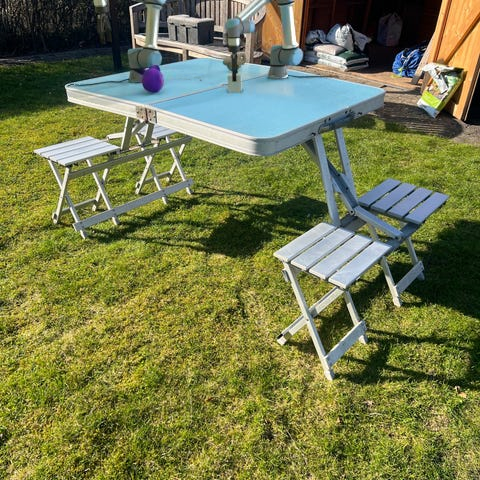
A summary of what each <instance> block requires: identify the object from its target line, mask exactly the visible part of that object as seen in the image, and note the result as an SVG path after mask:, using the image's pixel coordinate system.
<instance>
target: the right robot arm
mask: <svg viewBox="0 0 480 480" xmlns="http://www.w3.org/2000/svg"><path fill="white" fill-rule="evenodd" d="M275 1H276V2H277V7H279V10H280V11H279V12H280V19H281V28H282V29H281V30H282V37H283V38H282V39H283V44H275V45H271V47H270V51H269V54H270V55H269V57H270V58H269V66H270V67H269V70H268V72H267V79H269V80H285V79H288V78H289V77H292V78H298V79H299V78H338V79H339V78H340V76H339V75H305V76H304V75H302V76H301V75H299V76H298V75H292V74H288V71H287V66H292V67H296V66H298V65H300V64H301V62H302V60H303V56H304V52H303V50H302V49H301V48H300V45H299V43H298V42H297V37H296V36H297V35H296V27H295V15H294V4H295V2H296V0H251V1H250V2H249V3H248V4H247V5H246V6H245V7H244V8H242V9H241V10H240V11H239V12H238V13H237V14H236V15H235V16H234V17H233V18H228V19H227V20H226V21H225V23H224V29H225V30H226V31H227V45H228V49H227V50H228V52H229V53H231V54H232V55H231V54H230V55H231V56H230V57H231V58H232V70H231V71H230V72H231V73H232V82H237V78H236V73H239V72H238V71H239V69H238V68H237V67H238V64H237V57H238V55H239V54H238V53H239V52H241V45H240V44H241V41H242V40H241V35H246V34H248V35H249V34H253V33H254V32H255V30H256V25H255V22H254V21H253V20H251V19H252V18H253V17H254V16H255V15H256V14H257V13H259V11H260V10H261V9H262V8H264V7H265V6H267V5H269V4H270V3H272V2H275Z"/></svg>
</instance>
